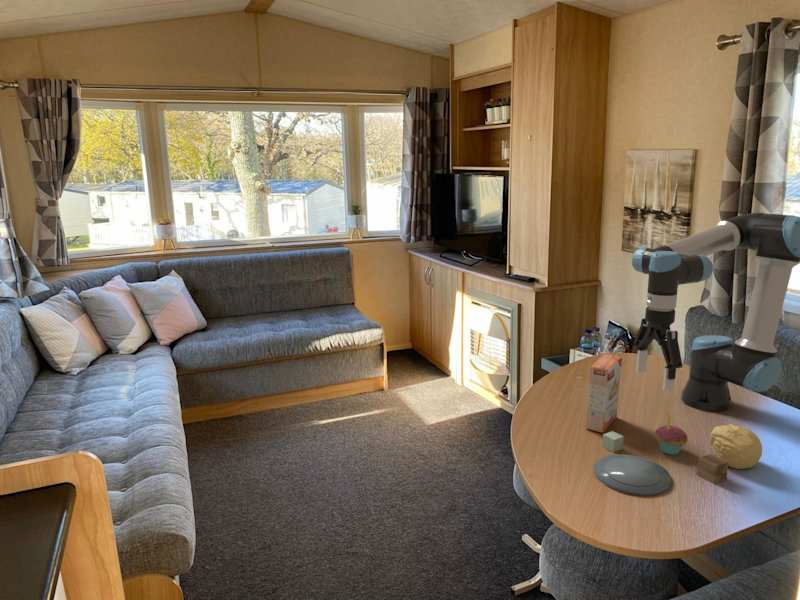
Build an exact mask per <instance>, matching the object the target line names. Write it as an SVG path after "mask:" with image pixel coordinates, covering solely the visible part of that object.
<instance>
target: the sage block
mask: <svg viewBox="0 0 800 600" xmlns="http://www.w3.org/2000/svg"><path fill="white" fill-rule="evenodd" d="M624 438H625V436H624V435H622V434H620V433H618V432H616V431H609V432H606V433H602V445H601V446H602V448H604V449H606V450H608V451H610V452H612V453H615V452H618V451H621V450H623V449H624Z"/></svg>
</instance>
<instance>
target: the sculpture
mask: <svg viewBox="0 0 800 600" xmlns="http://www.w3.org/2000/svg"><path fill="white" fill-rule="evenodd" d="M709 444H710V446H712V449H713V451H714V452H713V453H714V455H715V456H717V457H719V458H721V459H723V460H725V461H727V462H729V463H728V468H729V467H730V468H732V469H737V470H743V469H744V470H745V469H746V470H747V469H749V468H752V467H755V465H756V464H758V463H759V461H760V459H761V458H762V455H763V446H762V442H761V440H760V438H759V436H758V435H757V434H755V433H754V432H753V431H752V430H751V429H749V428H747V427H743V426H740V425H735V424H733V423H729V424H727V425H725V424H724V425H716V426H715V427H714V428H713V429H712V431H711V432H710V440H709Z"/></svg>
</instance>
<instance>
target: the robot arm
mask: <svg viewBox="0 0 800 600" xmlns="http://www.w3.org/2000/svg"><path fill="white" fill-rule="evenodd" d="M736 249H742V250H743V249H745V250H750V251H756V254H755V258H756V259H757V260H758V262H759V265H758V270H757V273H756V276H755V282H754V285H753V289H752V293H751V297H750V302H749V306H748V310H747V313H746V317H745V321H744V327H743V330H742V334H741V337H740V338H739V339H737V340H736V341H734V339H733V338H732V337H729V336H726V335H719V334H718V335H712V334H710V335H700V336H697V337H695V338H694V340H693V342H692V347H691V354H690V363H689V365H690V366H689V374H688V375H689V376H688V380H687V381H686V383H685V386H684V388H683V389H682V391H681V398H680V399H681V402H683V403H684V404H685V405H687V406H690V407H692V408H694V409H698V410H703V411H708V412H723V411H727V410H729V409H731V407H732V397H731V393H730V392H731V391H730V388H729V383H732V384H735V385H736V386H739V387H742V388H744V389H746V390H750V391H754V392H757V393H762V392H766V391H768V390H769V389H771V388H772V387H773V386H774V385H775V384H776V383H777V382H778V380H779V378H780V376H781V374H782V371H783V365H782V360H780V359H779V358H778V357H777V354H778V350H777V348H776V347H775V345H774V342H775V339H776V338H775V337H776V334H777V331H778V330H777V329H778V326H779V322H780V318H781V314H782V310H783V306H784V302H785V298H786V294H787V290H788V287H789V282H790V280H791V279H790V278H791V276H792V275H791V274H792V270H793V268H795V267H796V266H797V265H799V264H800V216H798V215H797V216H796V215H790V214H789V215H788V214H776V213H775V214H774V213H764V212H752V213H744V214H741V215H738V216H733V217H731V218H727V219H725V220H721V221H719V222H718V223H716V224H715V225H714V227H711V228H709V229H706V230H704V231H700V232H698V233H695V234H692V235H689V236H686V237H683V238H680V239H677V240H674V241H672V242H669V243H666V244H664V245H661V246H658V247H654V248H651V247H639V248H638V249H636V250H635V252H634V253H633V254H632V256H631V257H632V258H631V265H632V268H633V270H635V271H636V272H638V273H642V274H644V275H648V281H647V295H646V308H645V315H644V318H642V319H641V321H640V325H639V328H638V331H637V332H636V336H635V338H634V341H633V346H634V347H635V348H636V350H637V353H636V355H637V356H636V368H635V369H636V370H635V371H636V372H637V373H646V372H647V367H648V366H647V364H648V355H649V354H648V353H649V351H648V349H649V346H650V345H651V343H652V342H653V341H655V342H657V344H658V346H660V349H661V351H662V355H663V357H664V360H665V364H666V366H664V374H663V382H662V390H663V391H670V390H674V388H675V380H676V375H677V374H676V373H677V369H681V368H683V361H682V355H681V350H680V345H679V333H678V331H677V330H671V325H672V324H674V323H675V320H676V310H675V309H676V308H677V299H678V287H679V285H688V284H694V283H695V284H697V283H700V282H705V281H706V280H708V279H709V278H710V277H711V276H712V273H713V269H714V268H713V262H712V260H711V259H710V258H709V257H708V256H711V255H712V254H716V253H718V252H720V251H727V252H728V251H733V250H736ZM728 382H729V383H728Z"/></svg>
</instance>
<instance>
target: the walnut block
mask: <svg viewBox="0 0 800 600" xmlns="http://www.w3.org/2000/svg"><path fill="white" fill-rule="evenodd" d="M697 461H698V462H697V469H696V476H698V477H700V478H702V479H704V480H705V481H707V482H709V483H711V484H717V483H720V482H722V481H725V480H727V476H728V470H729V466H728V463H729V462H727V461H725V460H723V459H721V458H719V457H717V456H716V455H715V454H713V453H710V454H707V455H703V456H700V457H698V459H697Z"/></svg>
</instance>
